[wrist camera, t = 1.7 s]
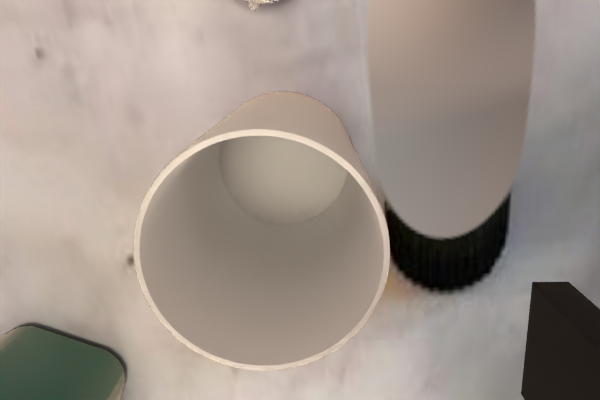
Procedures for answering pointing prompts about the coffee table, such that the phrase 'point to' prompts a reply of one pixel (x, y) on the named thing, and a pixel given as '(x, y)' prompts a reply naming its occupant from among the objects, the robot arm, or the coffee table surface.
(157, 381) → the coffee table surface
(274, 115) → the cup
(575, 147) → the coffee table surface
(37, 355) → the green bottle
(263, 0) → the white cloth pouch
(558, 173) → the coffee table surface
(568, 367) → the robot arm
